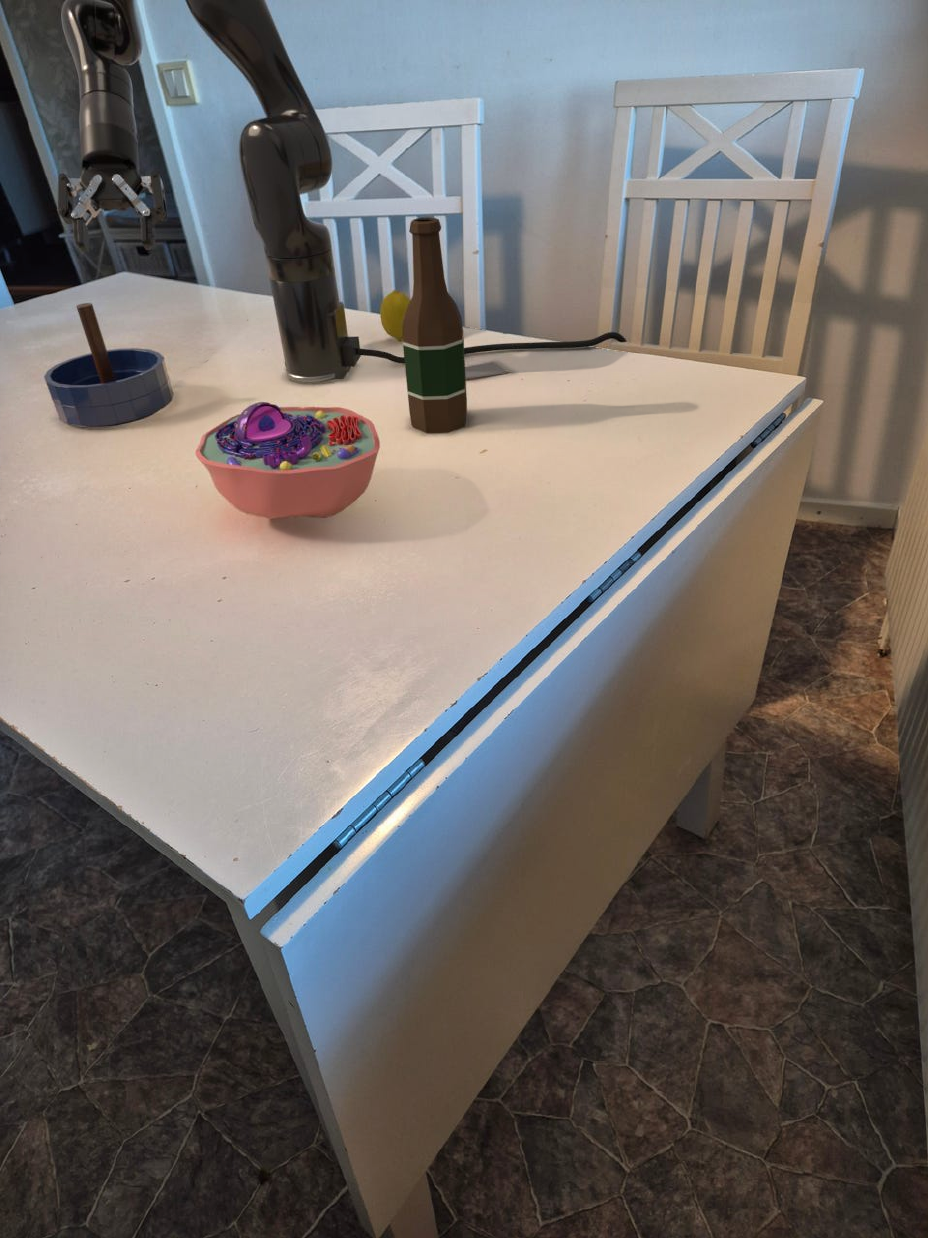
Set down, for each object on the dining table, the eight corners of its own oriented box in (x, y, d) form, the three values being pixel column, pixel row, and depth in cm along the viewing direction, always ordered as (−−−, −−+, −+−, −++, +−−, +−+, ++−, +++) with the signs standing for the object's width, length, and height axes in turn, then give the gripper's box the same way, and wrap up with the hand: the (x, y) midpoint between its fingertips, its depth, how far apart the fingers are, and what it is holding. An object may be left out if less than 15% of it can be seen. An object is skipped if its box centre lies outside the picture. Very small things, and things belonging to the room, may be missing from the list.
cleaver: (509, 376, 119) (494, 366, 123) (509, 368, 118) (494, 357, 122) (425, 390, 114) (412, 378, 118) (425, 381, 114) (412, 370, 117)
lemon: (412, 346, 131) (407, 294, 126) (379, 345, 132) (373, 294, 127) (420, 335, 135) (416, 285, 130) (388, 335, 136) (383, 285, 131)
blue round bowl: (190, 387, 120) (180, 347, 117) (147, 430, 108) (134, 386, 104) (92, 388, 122) (79, 349, 119) (38, 431, 110) (21, 387, 106)
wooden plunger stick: (142, 396, 117) (113, 298, 109) (125, 411, 112) (94, 310, 104) (106, 396, 117) (74, 299, 109) (87, 411, 113) (53, 311, 105)
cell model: (323, 568, 78) (303, 459, 71) (180, 521, 87) (150, 421, 80) (422, 493, 89) (413, 394, 82) (286, 459, 98) (268, 367, 91)
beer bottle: (479, 414, 106) (470, 213, 92) (453, 438, 101) (440, 227, 86) (426, 407, 109) (410, 211, 95) (398, 430, 104) (377, 225, 89)
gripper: (45, 121, 110) (51, 234, 109) (153, 118, 112) (160, 230, 110) (67, 157, 118) (73, 264, 117) (167, 154, 119) (174, 260, 118)
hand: (115, 247), depth 114 cm, fingers open, 8 cm apart
